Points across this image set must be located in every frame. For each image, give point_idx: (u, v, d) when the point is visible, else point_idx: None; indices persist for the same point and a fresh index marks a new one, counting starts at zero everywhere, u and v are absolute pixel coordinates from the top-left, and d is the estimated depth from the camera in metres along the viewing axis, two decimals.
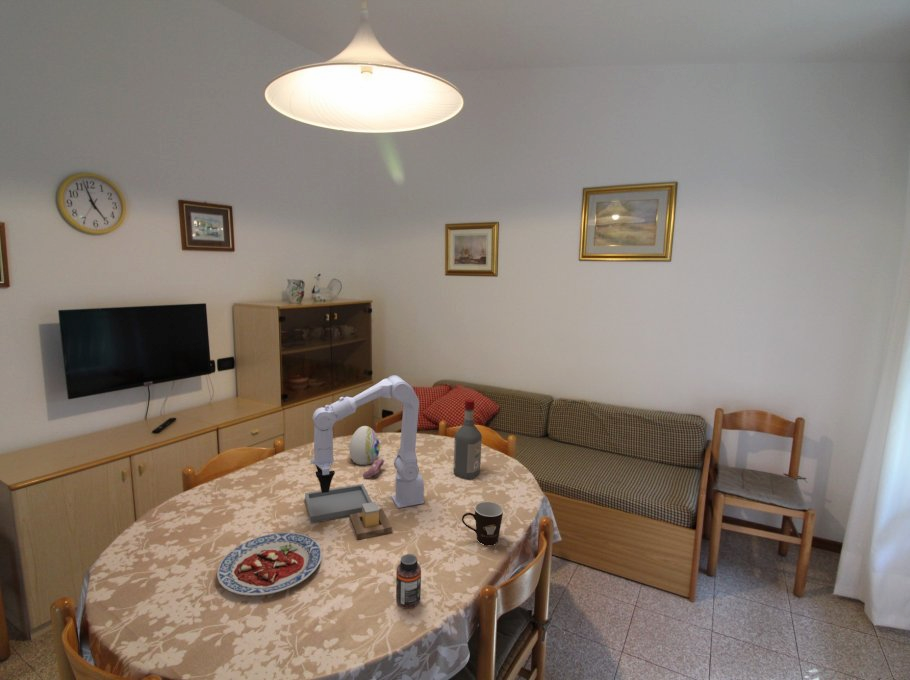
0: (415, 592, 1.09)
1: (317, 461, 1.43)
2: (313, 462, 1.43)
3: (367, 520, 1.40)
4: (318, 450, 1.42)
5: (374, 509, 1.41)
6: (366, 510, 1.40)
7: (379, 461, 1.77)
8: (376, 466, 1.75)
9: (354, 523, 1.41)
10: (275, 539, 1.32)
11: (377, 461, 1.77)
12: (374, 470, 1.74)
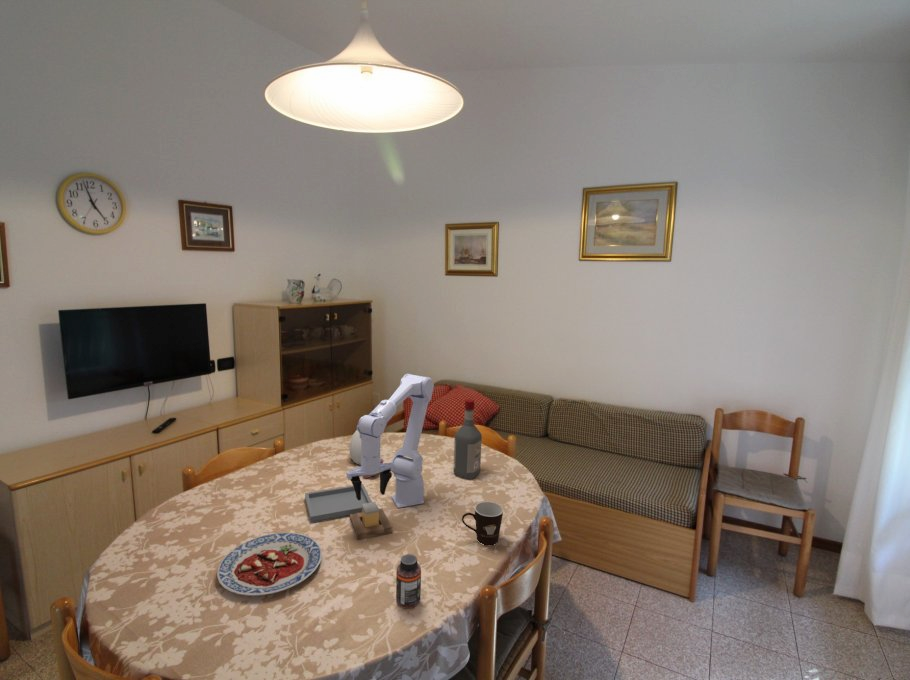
0: (415, 592, 1.09)
1: None
2: None
3: (367, 520, 1.40)
4: None
5: (374, 509, 1.41)
6: (366, 510, 1.40)
7: None
8: None
9: (354, 523, 1.41)
10: (275, 539, 1.32)
11: None
12: None
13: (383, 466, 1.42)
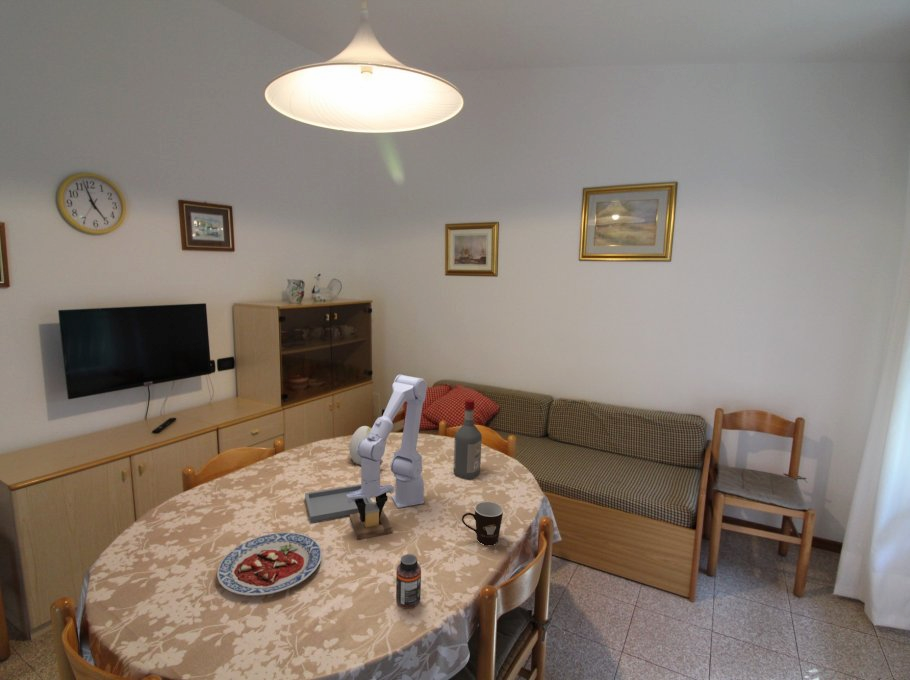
0: (415, 592, 1.09)
1: None
2: None
3: (367, 520, 1.40)
4: None
5: (374, 509, 1.41)
6: (366, 510, 1.40)
7: None
8: None
9: (354, 523, 1.41)
10: (275, 539, 1.32)
11: None
12: None
13: (383, 488, 1.43)
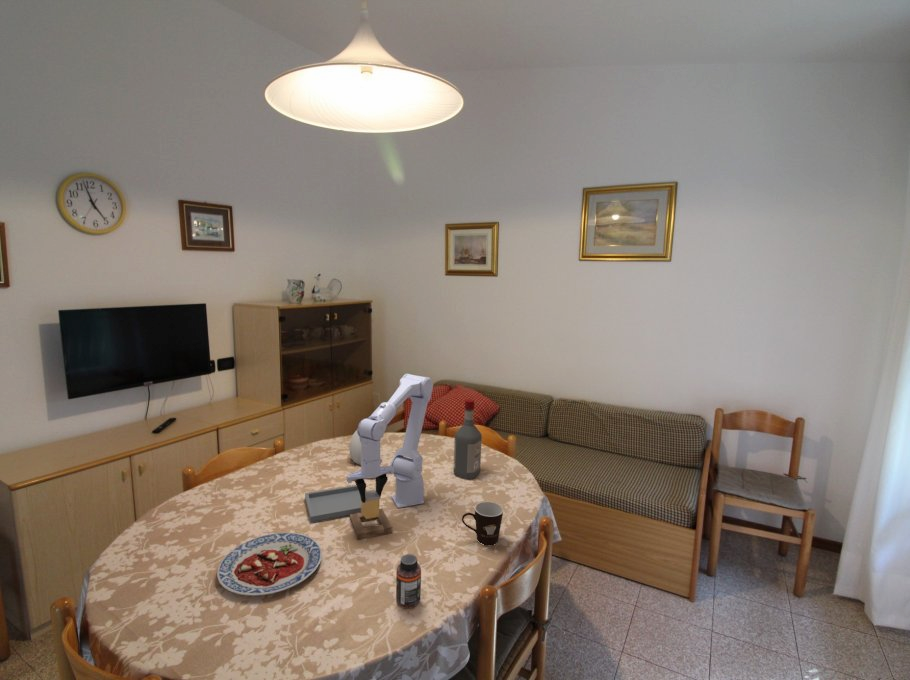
0: (415, 592, 1.09)
1: None
2: None
3: (368, 507, 1.39)
4: None
5: (375, 496, 1.40)
6: (367, 497, 1.39)
7: None
8: None
9: (354, 523, 1.41)
10: (275, 539, 1.32)
11: None
12: None
13: (383, 469, 1.42)
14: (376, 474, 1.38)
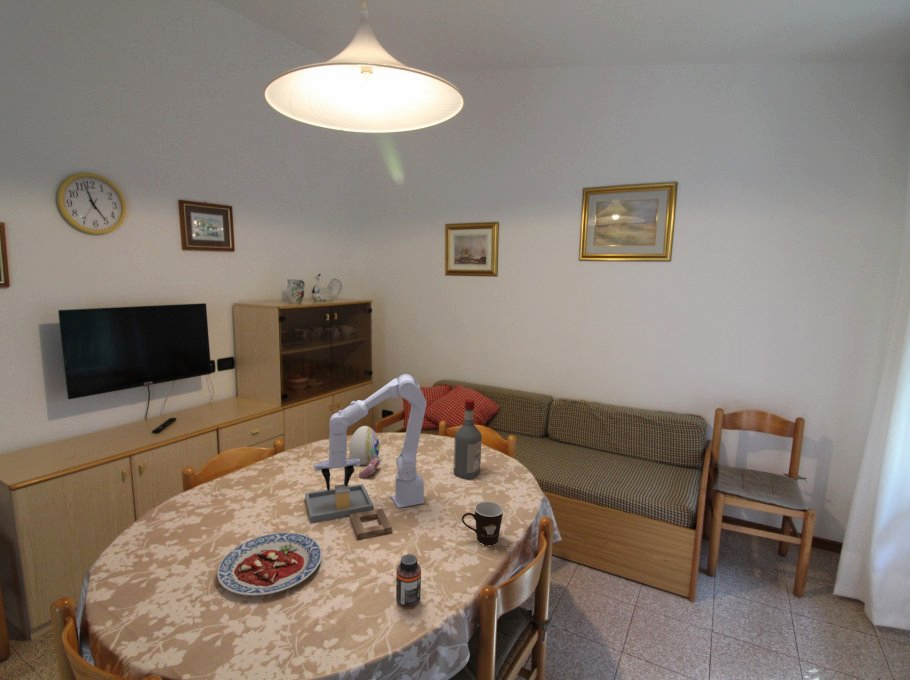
0: (415, 592, 1.09)
1: None
2: None
3: (338, 500, 1.50)
4: None
5: (345, 490, 1.51)
6: (337, 491, 1.50)
7: (375, 461, 1.78)
8: (372, 466, 1.75)
9: (354, 523, 1.41)
10: (275, 539, 1.32)
11: (373, 461, 1.77)
12: (370, 470, 1.74)
13: (350, 461, 1.54)
14: (341, 465, 1.50)
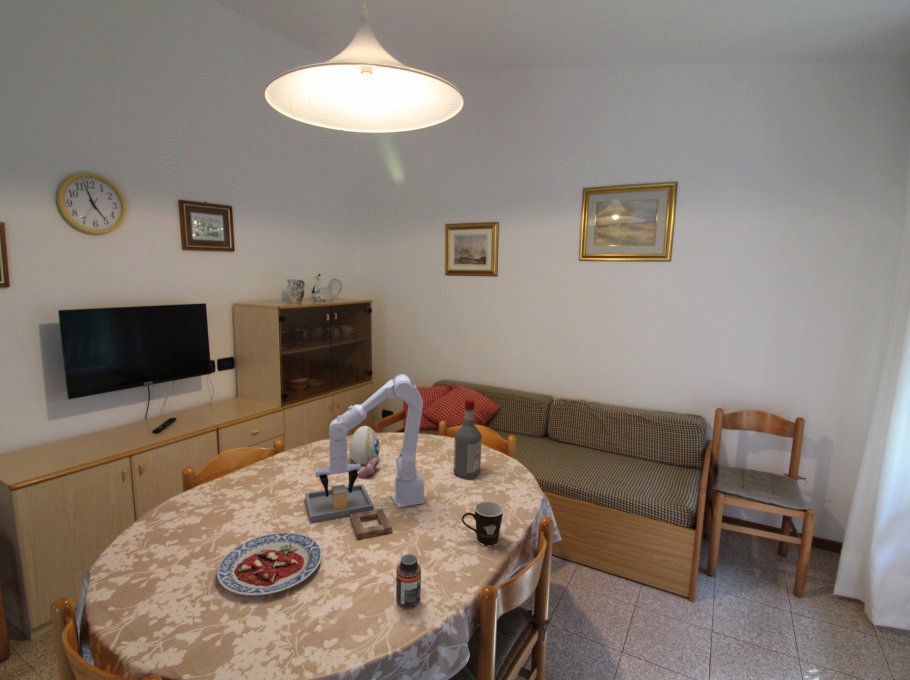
0: (415, 592, 1.09)
1: None
2: None
3: (336, 501, 1.49)
4: None
5: (343, 491, 1.50)
6: (335, 492, 1.49)
7: (374, 461, 1.78)
8: (371, 466, 1.75)
9: (354, 523, 1.41)
10: (275, 539, 1.32)
11: (372, 461, 1.77)
12: (369, 470, 1.74)
13: (350, 466, 1.54)
14: (342, 470, 1.51)
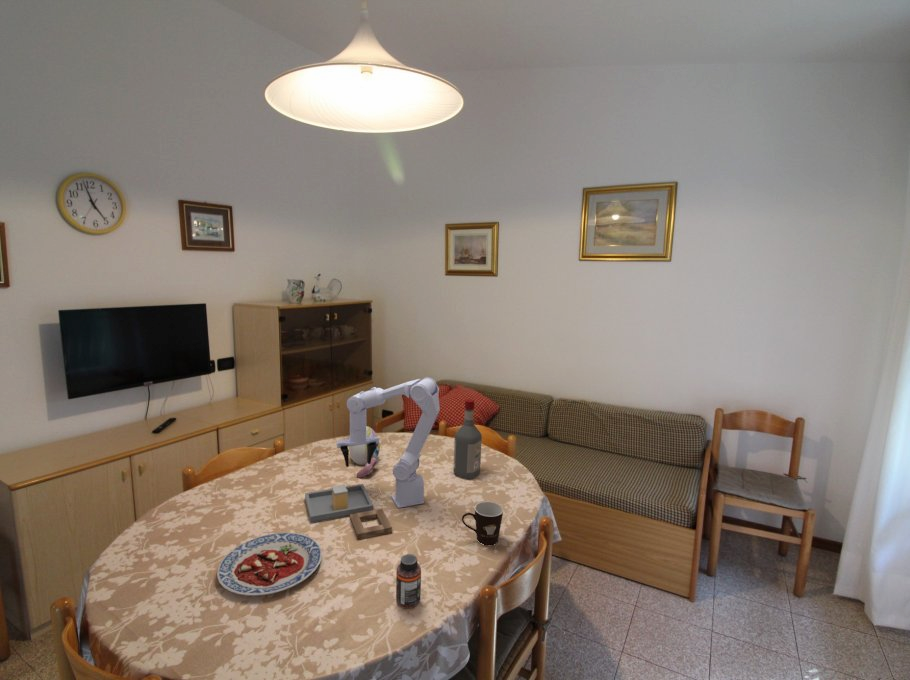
0: (415, 592, 1.09)
1: None
2: None
3: (336, 501, 1.49)
4: None
5: (343, 491, 1.50)
6: (335, 492, 1.49)
7: (373, 460, 1.78)
8: (370, 465, 1.75)
9: (354, 523, 1.41)
10: (275, 539, 1.32)
11: (371, 460, 1.77)
12: (368, 469, 1.74)
13: (369, 439, 1.63)
14: (362, 442, 1.59)
